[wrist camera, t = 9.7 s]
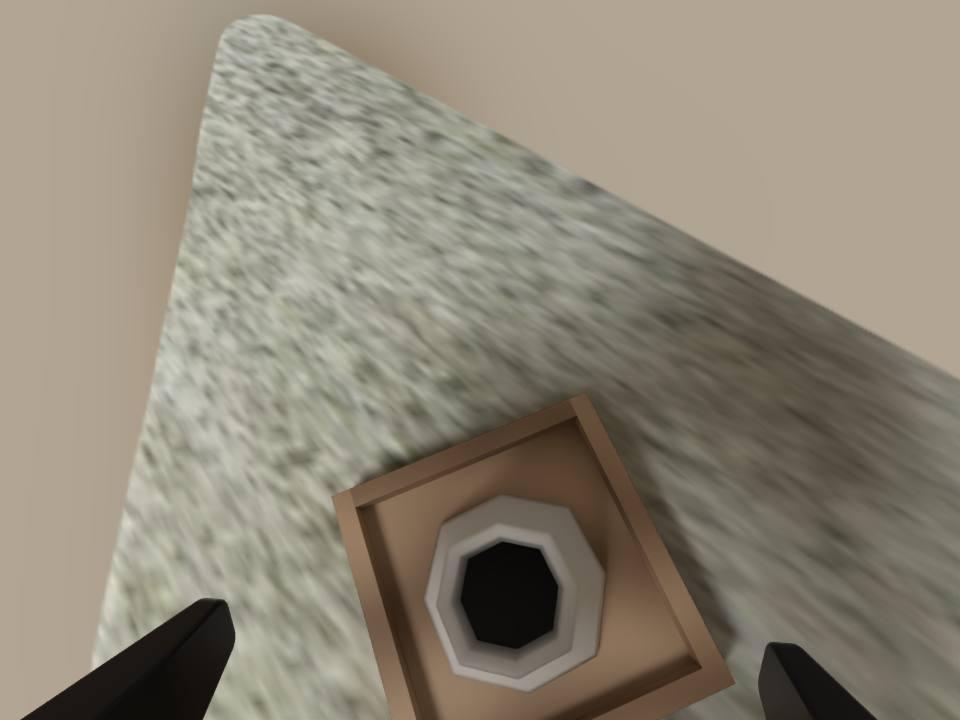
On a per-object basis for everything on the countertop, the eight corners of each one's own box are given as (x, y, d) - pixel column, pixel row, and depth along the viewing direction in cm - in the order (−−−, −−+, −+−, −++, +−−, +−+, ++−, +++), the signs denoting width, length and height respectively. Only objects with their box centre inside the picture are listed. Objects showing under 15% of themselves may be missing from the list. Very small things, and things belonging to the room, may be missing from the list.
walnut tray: (717, 674, 20) (735, 683, 18) (431, 807, 19) (422, 830, 17) (581, 404, 24) (585, 392, 22) (345, 501, 23) (331, 496, 21)
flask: (432, 705, 19) (349, 825, 10) (417, 505, 22) (341, 456, 13) (626, 679, 19) (723, 777, 10) (586, 482, 22) (632, 415, 13)
